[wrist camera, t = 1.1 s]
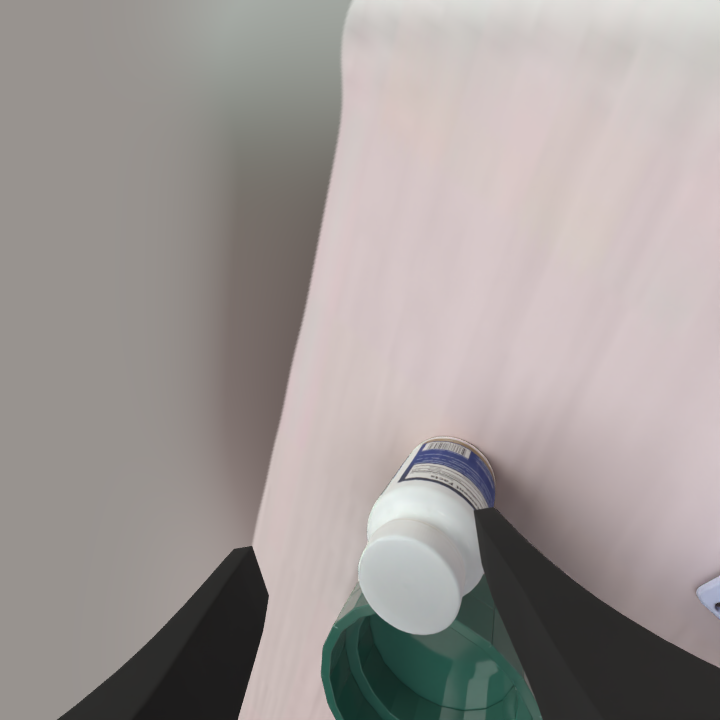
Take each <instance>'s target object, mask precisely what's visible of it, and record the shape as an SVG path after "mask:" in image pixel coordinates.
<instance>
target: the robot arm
mask: <svg viewBox="0 0 720 720" xmlns="http://www.w3.org/2000/svg"><path fill="white" fill-rule="evenodd" d="M473 511H474V517H475V524H476V531H477V537H478V544H479V551H480V557H481V564H482V567H483V570H484V573H485V576H486V580H487V583H488V586H489V589H490V592H491V595H492V598H493V600H494V603H495V605H496V607H497V610H498V612H499V614H500V617H501V619H502V621H503V624H504V626H505V628H506V630H507V633H508V635H509V637H510V640H511V642H512V644H513V647H514V649H515V651H516V653H517V656H518V658H519V660H520V663H521V665H522V667H523V669H524V672H525V674H526V676H527V679H528V681H529V684H530V686H531V689H532V691H533V694H534V696H535V699H536V702H537V704H538V707H539V710H540V713H541V716H542V719H543V720H720V668H718V667H716V666H714V665H712V664H710V663H708V662H706V661H704V660H702V659H700V658H698V657H696V656H694V655H692V654H690V653H688V652H687V651H685V650H683V649H681V648H679V647H677V646H675V645H673V644H672V643H670V642H668V641H666V640H664V639H662V638H661V637H659V636H657V635H656V634H654V633H652V632H651V631H649V630H647V629H646V628H644V627H642V626H641V625H639V624H637V623H636V622H634V621H632V620H631V619H629V618H627V617H626V616H624V615H622V614H621V613H619V612H618V611H616V610H615V609H613V608H612V607H610V606H609V605H607V604H606V603H604V602H603V601H601V600H600V599H599V598H597V597H596V596H594V595H593V594H592V593H590V592H589V591H587V590H586V589H585V588H583V587H582V586H581V585H579V584H578V583H577V582H575V581H574V580H573V579H571V578H570V577H569V576H568V575H566V574H565V573H564V572H563V571H562V570H560V569H559V568H558V567H557V566H555V565H554V564H553V563H552V562H551V561H549V560H548V559H547V558H546V557H545V556H544V555H543V554H542V553H540V552H539V551H538V550H537V549H536V548H535V547H534V546H533V545H532V544H530V543H529V542H528V541H527V540H526V539H525V538H524V537H523V536H522V535H521V534H520V533H519V532H518V531H517V530H516V529H515V528H514V527H513V526H512V525H511V524H510V523H509V522H508V521H507V520H506V519H505V518H504V517H503V516H502V515H501V514H500V512H499V511H498V510H497V509H495V508H494V507H490V508H484V509H478V510H473ZM696 593H697V596H698V598H699V600H700V601H701V602H702V604H703V605H704V606H705V607H707V608H708V609H709V610H710V611H711V612H712V613H713V614H714V615H715V616H716V617H717V618H718V619H719V620H720V607H717V606H715V604H716V603H720V576H718V577H716V578H714V579H713V580H711V581H709V582H707V583H705V584H703V585H701V586H700V587H699V588H698V589H697V591H696ZM268 598H269V595H268V592H267V589H266V586H265V583H264V580H263V577H262V574H261V571H260V568H259V565H258V562H257V559H256V556H255V553H254V550H253V547H252V546H249V547H243V548H237V549H234V550H233V551H232V552H231V553H230V554H229V555H228V556H227V557H226V558H225V559H224V561H223V562H222V563H221V564H220V565H219V566H218V568H217V569H216V570H215V571H214V572H213V573H212V574H211V576H210V577H209V578H208V579H207V580H206V581H205V582H204V583H203V585H202V586H201V587H200V588H199V589H198V590H197V591H196V592H195V593H194V595H193V596H192V597H191V598H190V599H189V600H188V601H187V603H186V604H185V605H184V606H183V607H182V608H181V609H180V610H179V611H178V612H177V613H176V614H175V615H174V616H173V617H172V618H171V619H170V620H169V621H168V623H167V624H166V625H165V626H164V627H163V628H162V629H161V630H160V631H159V632H158V633H157V634H156V635H155V636H154V637H153V638H152V639H151V640H150V641H149V642H148V643H147V644H146V645H145V646H144V647H143V648H142V649H141V650H140V651H138V652H137V653H136V654H135V655H134V656H133V657H132V658H131V659H130V660H129V661H128V662H126V663H125V664H124V665H123V666H122V667H121V668H120V669H119V670H118V671H116V673H114V674H113V675H112V676H111V677H109V678H108V679H107V680H106V681H105V682H104V683H102V684H101V685H100V686H99V687H97V688H96V689H95V690H94V691H93V692H91V693H90V694H89V695H88V696H87V697H85V698H84V699H83V700H82V701H81V702H79V703H78V704H77V705H76V706H74V707H73V708H72V709H71V710H69V711H68V712H67V713H65V714H64V715H63V716H61V717H60V718H59V719H57V720H238V716H239V713H240V710H241V706H242V703H243V699H244V696H245V692H246V689H247V685H248V682H249V679H250V675H251V672H252V668H253V665H254V661H255V658H256V654H257V651H258V647H259V644H260V640H261V636H262V633H263V628H264V622H265V617H266V611H267V604H268Z"/></svg>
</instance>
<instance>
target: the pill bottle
mask: <svg viewBox="0 0 720 720" xmlns="http://www.w3.org/2000/svg"><path fill="white" fill-rule="evenodd" d="M495 487H496V485H495V477H494V473H493V470H492V468H491V465H490V463H489V462H488V460H487V459H486V457H485V456H484V455H483V454H482V453H481V452H480V451H479V450H478V449H477V448H476V447H474V446H473V445H471V444H470V443H468V442H466V441H464V440H461V439H458V438H454V437H445V436H443V437H434V438H430V439H428V440H426V441H424V442H422V443H421V444H420V445H418V446H417V447H416V448H415V449H414V450H413V451H412V452H411V454H410V455H409V456H408V458H407V459H406V460H405V462H404V463H403V465H402V466H401V467H400V469H399V470H398V472H397V473H396V474H395V476H394V477H393V479H392V480H391V482H390V483H389V484H388V486H387V487H386V489H385V490H384V491H383V492H382V494H381V495H380V497H379V498H378V499H377V501H376V503H375V505H374V506H373V508H372V510H371V513H370V516H369V520H368V525H367V539H368V544H367V546H366V547H365V549H364V551H363V553H362V555H361V558H360V561H359V566H358V577H359V583H360V587H361V589H362V592H363V594H364V596H365V598H366V600H367V601H368V603H369V605H370V606H371V607H372V609H373V610H374V611H375V612H376V613H377V614H378V615H379V616H380V617H381V618H382V619H384V620H385V621H386V622H388V623H389V624H390V625H392V626H394V627H395V628H397V629H399V630H402V631H405V632H407V633H411V634H418V635H429V634H435V633H438V632H440V631H442V630H444V629H446V628H447V627H448V626H450V625H451V624H452V622H453V621H454V620H455V618H456V616H457V614H458V612H459V609H460V605H461V601H462V597H463V596H464V595H466V594H467V593H469V592H470V591H471V590H472V589H473V588H474V587H475V586H476V585H477V584H478V583H479V581H480V579H481V578H482V576H483V574H484V570H483V567H482V564H481V557H480V551H479V544H478V537H477V531H476V524H475V517H474V511H473V510H478V509H484V508H490V507H494V501H495Z"/></svg>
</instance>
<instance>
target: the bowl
mask: <svg viewBox="0 0 720 720" xmlns="http://www.w3.org/2000/svg"><path fill="white" fill-rule="evenodd" d="M321 678H322V682H323V686H324V690H325V694H326V699H327V703H328V706H329V707H330V709H331V711H332V713H333V715H334V717H335V719H336V720H543V719H542V716H541V713H540V710H539V707H538V704H537V702H536V699H535V696H534V694H533V691H532V689H531V686H530V684H529V681H528V679H527V676H526V674H525V672H524V669H523V667H522V665H521V663H520V660H519V658H518V656H517V653H516V651H515V649H514V647H513V644H512V642H511V640H510V637H509V635H508V633H507V630H506V628H505V626H504V624H503V621H502V619H501V617H500V614H499V612H498V610H497V607H496V605H495V603H494V600H493V598H492V595H491V592H490V589H489V586H488V583H487V580H486V576H485V574H483V576H482V578H481V579H480V581H479V583H478V584H477V585H476V586H475V587H474V588H473V589H472V590H471V591H470V592H469V593H467V594H466V595H464V596H463V597H462V601H461V605H460V609H459V612H458V614H457V616H456V618H455V620H454V621H453V622H452V624H451V625H450V626H448V627H447V628H446V629H444V630H442V631H440V632H438V633H435V634H429V635H418V634H411V633H407V632H405V631H402V630H399V629H397V628H395V627H394V626H392V625H390V624H389V623H388V622H386V621H385V620H384V619H382V618H381V617H380V616H379V615H378V614H377V613H376V612H375V611H374V610H373V609H372V607H371V606H370V605H369V603H368V601H367V600H366V598H365V596H364V594H363V592H362V589H361V587H360V583H359V581H358V583H357V584H356V586H355V588H354V590H353V591H352V593H351V595H350V597H349V598H348V600H347V602H346V604H345V605H344V607H343V609H342V611H341V612H340V614H339V616H338V618H337V619H336V621H335V623H334V625H333V627H332V629H331V631H330V633H329V635H328V637H327V639H326V641H325V643H324V645H323V651H322V666H321Z"/></svg>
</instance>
